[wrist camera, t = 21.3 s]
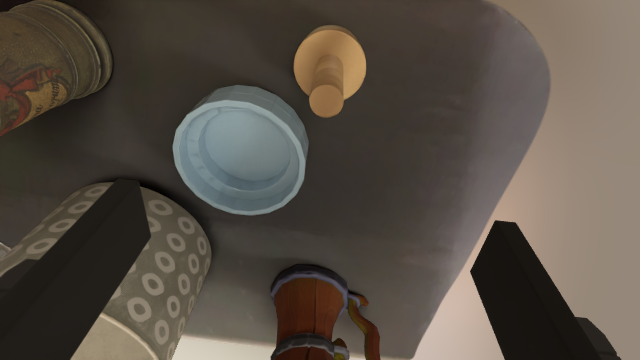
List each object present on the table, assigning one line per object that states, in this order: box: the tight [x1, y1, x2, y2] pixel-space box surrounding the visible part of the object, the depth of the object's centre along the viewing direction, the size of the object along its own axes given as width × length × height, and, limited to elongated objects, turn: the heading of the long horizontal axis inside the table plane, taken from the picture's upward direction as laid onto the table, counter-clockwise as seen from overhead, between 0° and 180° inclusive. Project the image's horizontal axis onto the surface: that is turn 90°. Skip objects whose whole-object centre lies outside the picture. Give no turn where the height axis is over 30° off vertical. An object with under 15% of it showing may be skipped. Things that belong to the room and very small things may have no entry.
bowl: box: [173, 85, 309, 215], centre depth 37 cm, size 13×13×5 cm
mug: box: [271, 265, 380, 360], centre depth 47 cm, size 18×12×15 cm, turn 81°
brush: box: [294, 25, 366, 117], centre depth 29 cm, size 6×6×12 cm
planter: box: [0, 182, 212, 360], centre depth 40 cm, size 19×19×18 cm
